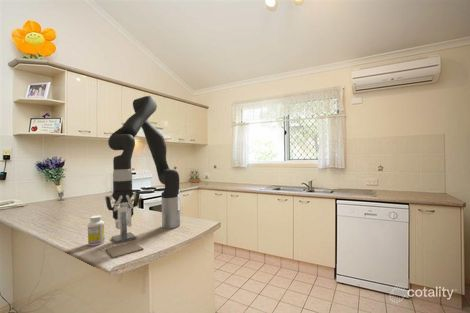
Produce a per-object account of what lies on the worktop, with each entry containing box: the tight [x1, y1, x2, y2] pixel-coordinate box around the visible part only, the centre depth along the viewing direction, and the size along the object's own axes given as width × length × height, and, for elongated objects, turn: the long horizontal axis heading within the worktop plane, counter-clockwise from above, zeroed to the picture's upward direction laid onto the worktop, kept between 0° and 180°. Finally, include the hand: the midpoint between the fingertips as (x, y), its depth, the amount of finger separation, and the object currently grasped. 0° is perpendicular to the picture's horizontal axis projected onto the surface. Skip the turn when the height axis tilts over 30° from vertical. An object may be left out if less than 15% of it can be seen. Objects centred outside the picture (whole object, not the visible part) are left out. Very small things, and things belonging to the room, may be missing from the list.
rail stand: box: [110, 200, 137, 244], centre depth 111 cm, size 9×16×20 cm, turn 42°
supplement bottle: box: [87, 214, 105, 247], centre depth 108 cm, size 7×7×13 cm
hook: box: [114, 207, 132, 230], centre depth 100 cm, size 5×4×8 cm
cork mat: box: [105, 240, 144, 259], centre depth 99 cm, size 12×12×1 cm
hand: (123, 217), depth 100 cm, fingers closed on hook, 5 cm apart
